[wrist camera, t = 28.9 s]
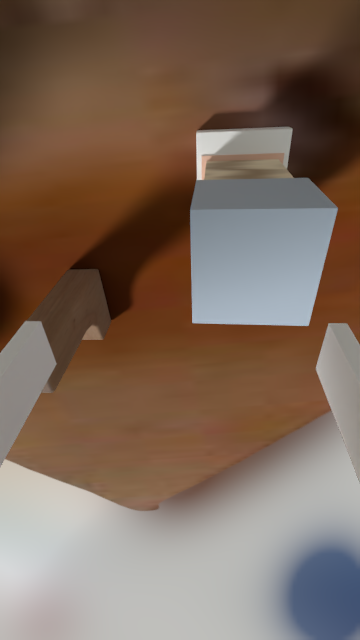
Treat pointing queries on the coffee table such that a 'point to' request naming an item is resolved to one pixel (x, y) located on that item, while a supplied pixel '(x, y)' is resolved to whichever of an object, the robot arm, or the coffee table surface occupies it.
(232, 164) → the beige box
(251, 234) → the slate block
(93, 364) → the coffee table surface
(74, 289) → the wooden block
